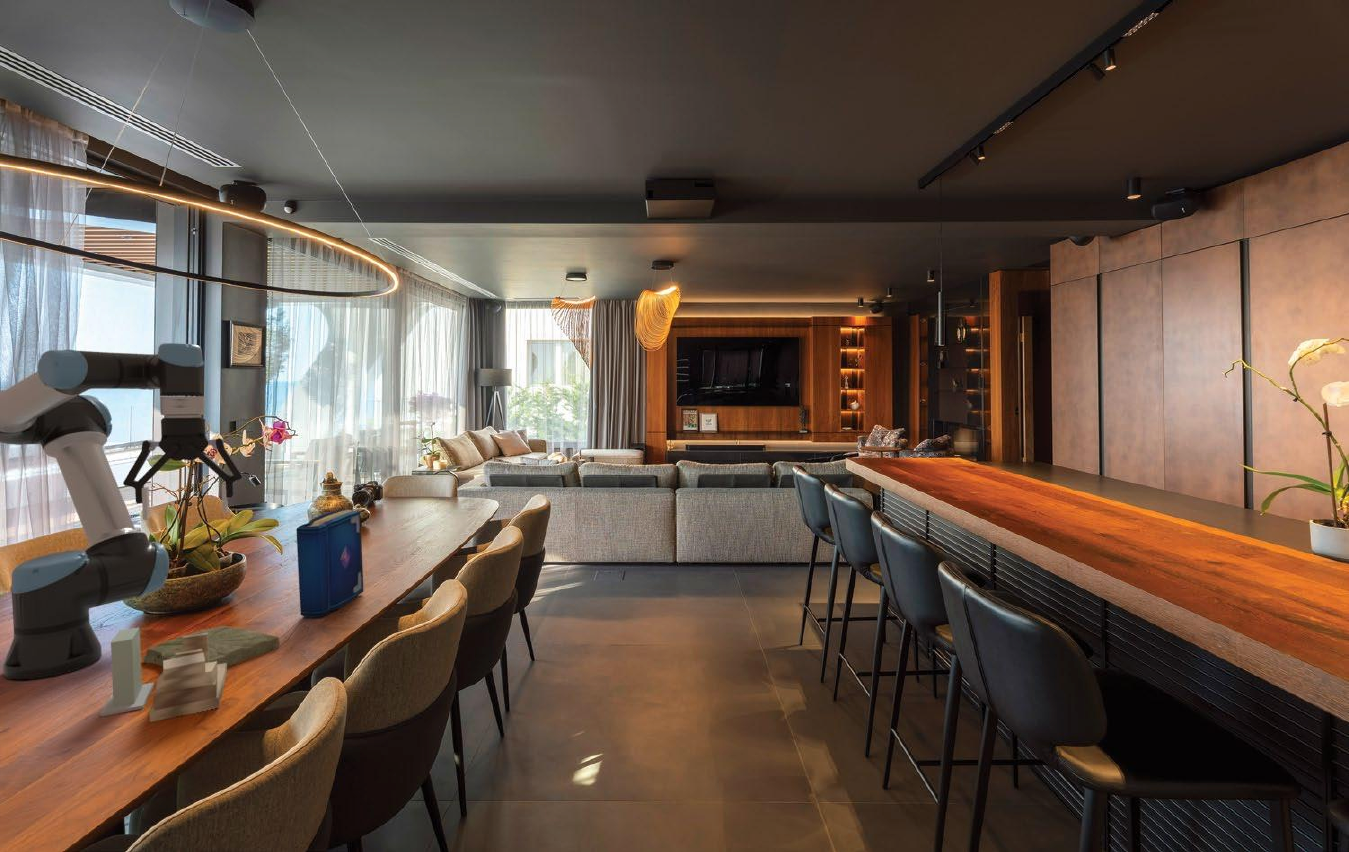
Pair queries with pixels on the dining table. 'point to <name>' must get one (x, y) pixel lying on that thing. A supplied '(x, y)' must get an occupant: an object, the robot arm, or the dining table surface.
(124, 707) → the felt mat
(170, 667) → the offcut top
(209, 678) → the block
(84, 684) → the dining table surface
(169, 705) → the offcut bottom
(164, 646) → the decorative tile
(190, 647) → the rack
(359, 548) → the book
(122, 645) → the pale green block
